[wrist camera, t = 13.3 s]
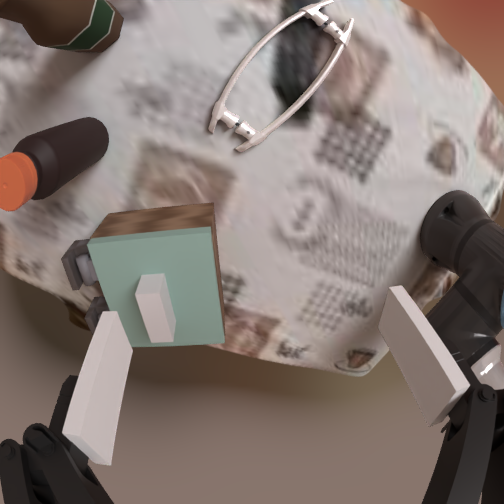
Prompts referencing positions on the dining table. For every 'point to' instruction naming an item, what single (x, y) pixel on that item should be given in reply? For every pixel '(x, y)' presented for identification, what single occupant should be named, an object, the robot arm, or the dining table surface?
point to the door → (159, 285)
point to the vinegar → (50, 160)
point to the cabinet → (141, 224)
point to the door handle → (257, 137)
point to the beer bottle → (66, 22)
